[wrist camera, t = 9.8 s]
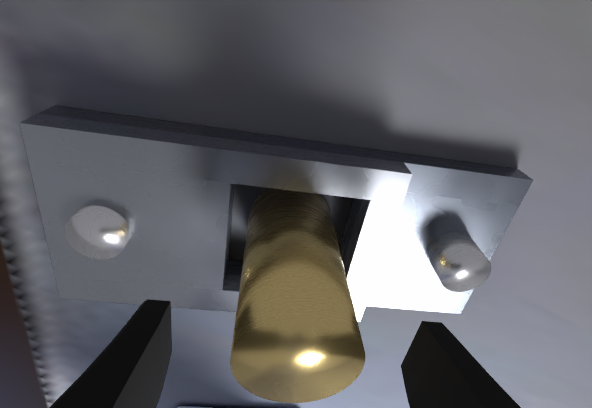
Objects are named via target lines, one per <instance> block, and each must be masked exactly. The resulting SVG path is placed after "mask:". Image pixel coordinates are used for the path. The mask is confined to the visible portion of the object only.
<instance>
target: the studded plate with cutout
mask: <svg viewBox="0 0 592 408" xmlns="http://www.w3.org/2000/svg"><path fill="white" fill-rule="evenodd" d="M20 127H21V132H22V136H23V140H24V145H25V149H26V153H27V158H28V162H29V166H30V171H31V175H32V179H33V184H34V188H35V192H36V197H37V201H38V205H39V210H40V214H41V218H42V222H43V227H44V231H45V235H46V240H47V244H48V248H49V253H50V257H51V261H52V266H53V270H54V274H55V279H56V283H57V287H58V292H59V296H60V298H62V299H74V300H87V301H100V302H113V303H126V304H138V305H142V303H143V302H144V301H146V300H147V299H150V300H163V301H171V307H177V308H190V309H203V310H215V311H228V312H237V305H238V297H239V289H240V282H241V274H242V266H243V261H239V260H229V259H228V258H229V245H230V233H231V221H232V209H233V197H234V185H235V184H241V185H249V186H257V187H266V188H274V189H283V190H291V191H299V192H308V193H316V194H324V195H333V196H341V197H349V198H353V201H352V205H351V209H350V212H349V216H348V220H347V223H346V227H345V231H344V234H343V238H342V242H341V245H340V253H341V257H342V261H343V265H344V269H345V273H346V278H347V282H348V286H349V290H350V294H351V298H352V302H353V306H354V310H355V314H356V318H357V322H360V321H361V318H362V316H363V313H364V310H365V307H366V306H372V307H384V308H396V309H408V310H420V311H432V312H444V313H456V314H461V312H462V310H463V308H464V306H465V304H466V303H467V301H468V299H469V297H470V295H471V293H472V292H473V290H474V288H476V287H478V286H480V285H481V284H482V283H483V282H484V281H485V280H486V279H487V278H488V276H489V275H490V272H491V263H490V261H489V260H490V259H491V257H492V255H493V253H494V251H495V249H496V247H497V246H498V244H499V242H500V240H501V238H502V236H503V235H504V233H505V231H506V229H507V227H508V225H509V224H510V222H511V220H512V218H513V216H514V214H515V213H516V211H517V209H518V207H519V205H520V203H521V202H522V200H523V198H524V196H525V194H526V192H527V191H528V189H529V187H530V185H531V183H532V181H533V180H532V179H531V178H530V177H528V176H527V175H526V174H524V173H523V172H521V171H520V170H519V169H513V168H505V167H498V166H491V165H484V164H476V163H469V162H462V161H454V160H447V159H440V158H433V157H425V156H418V155H411V154H403V153H396V152H389V151H382V150H374V149H367V148H360V147H352V146H345V145H338V144H331V143H323V142H316V141H309V140H301V139H294V138H287V137H280V136H272V135H265V134H258V133H250V132H243V131H236V130H229V129H221V128H214V127H207V126H199V125H192V124H185V123H178V122H170V121H163V120H156V119H148V118H141V117H134V116H127V115H119V114H112V113H105V112H97V111H90V110H83V109H76V108H68V107H61V106H53V107H51V108H49V109H47V110H45V111H43V112H41V113H39V114H37V115H35V116H33V117H31V118H29V119H27V120H25V121H23V122H21V123H20Z"/></svg>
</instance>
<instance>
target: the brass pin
mask: <svg viewBox="0 0 592 408" xmlns="http://www.w3.org/2000/svg"><path fill="white" fill-rule="evenodd" d="M364 362H365V351H364V347H363V343H362V339H361V335H360V331H359V327H358V322H357V318H356V314H355V310H354V306H353V302H352V298H351V294H350V290H349V286H348V282H347V278H346V273H345V269H344V265H343V261H342V257H341V253H340V249H339V245H338V241H337V237H336V233H335V229H334V224H333V220H332V216H331V212H330V209H329V206H328V204H327V202H326V201H325V200H324V198H323V197H322V196H321V195H320V194H316V193H308V192H299V191H291V190H283V189H274V188H271V189H269V190H267V191H266V192H264V193H263V194H261V195H260V196H259V197H258V198H257V199H256V201H255V202H254V204H253V205H252V207H251V210H250V213H249V220H248V227H247V235H246V243H245V251H244V258H243V266H242V274H241V282H240V289H239V297H238V305H237V313H236V320H235V328H234V336H233V343H232V351H231V360H230V365H231V370H232V373H233V375H234V377H235V379H236V380H237V381H238V383H239V384H240V385H241V386H242V387H244V388H245V389H246V390H248V391H249V392H251V393H253V394H255V395H257V396H259V397H262V398H264V399H268V400H272V401H277V402H285V403H302V402H310V401H315V400H320V399H323V398H326V397H329V396H332V395H334V394H336V393H338V392H340V391H342V390H343V389H345V388H346V387H348V386H349V385H350V384H351V383H352V382H353V381H354V380H355V379H356V378H357V377H358V376H359V374H360V373H361V371H362V369H363V366H364Z"/></svg>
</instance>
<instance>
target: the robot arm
mask: <svg viewBox="0 0 592 408" xmlns="http://www.w3.org/2000/svg"><path fill="white" fill-rule="evenodd" d="M171 352H172V340H171V301H163V300H150V299H147V300H146V301H144V302H143V303H142V305H141V306H140V307H139V308H138V310H137V311H136V312H135V314H134V315H133V316H132V317H131V319H130V320H129V321H128V322H127V324H126V325H125V326H124V327H123V329H122V330H121V331H120V332H119V333H118V334H117V336H116V337H115V338H114V339H113V340H112V342H111V343H110V344H109V345H108V346H107V347H106V348H105V349H104V351H103V352H102V353H101V354H100V355H99V356H98V357H97V358H96V360H95V361H94V362H93V363H92V364H91V365H90V366H89V367H88V368H87V370H86V371H85V372H84V373H83V374H82V375H81V376H80V377H79V378H78V379H77V380H76V381H75V382H74V383H73V384H72V385H71V386H70V387H69V388H68V389H67V390H66V391H65V392H64V393H63V394H62V395H61V396H60V397H59V398H58V399H57V400H56V401H55V403H54V404H53V405H52V406H51V407H50V408H156V406H157V403H158V401H159V398H160V395H161V392H162V389H163V385H164V381H165V377H166V373H167V369H168V365H169V360H170V356H171ZM401 368H402V373H403V379H404V384H405V389H406V393H407V398H408V402H409V405H410V408H521V407H520V406H519V405H518V404H517V403H516V402H515V401H514V400H513V399H512V398H511V397H510V396H509V395H508V394H507V393H506V392H505V391H504V390H503V389H502V388H501V387H500V386H499V384H498V383H497V382H496V381H495V380H494V379H493V378H492V377H491V376H490V375H489V374H488V373H487V372H486V370H485V369H484V368H483V367H482V366H481V365H480V364H479V363H478V362H477V361H476V359H475V358H474V357H473V356H472V355H471V354H470V353H469V352H468V351H467V350H466V348H465V347H464V346H463V345H462V344H461V343H460V342H459V341H458V340H457V339H456V337H455V336H454V335H453V334H452V333H451V332H450V331H449V330H448V329H447V328H446V327H445V326H444V325H443V324H442V323H439V322H426V321H422V322H421V325H420V327H419V329H418V331H417V333H416V335H415V337H414V339H413V341H412V344H411V346H410V348H409V350H408V352H407V354H406V356H405V358H404V360H403V363H402V365H401ZM177 408H211V407H189V406H179V407H177Z"/></svg>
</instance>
